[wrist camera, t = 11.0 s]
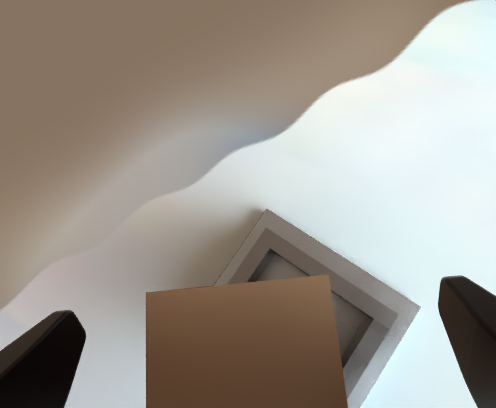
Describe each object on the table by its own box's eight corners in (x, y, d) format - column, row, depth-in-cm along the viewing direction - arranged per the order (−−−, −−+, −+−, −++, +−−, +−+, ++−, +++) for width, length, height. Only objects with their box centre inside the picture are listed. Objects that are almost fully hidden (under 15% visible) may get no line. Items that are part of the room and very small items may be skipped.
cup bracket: (317, 466, 18) (318, 506, 15) (178, 345, 21) (151, 354, 18) (414, 306, 19) (436, 308, 16) (269, 213, 22) (260, 197, 19)
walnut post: (331, 365, 18) (363, 511, 6) (257, 370, 19) (145, 509, 6) (320, 288, 19) (328, 275, 7) (251, 295, 20) (145, 292, 8)
